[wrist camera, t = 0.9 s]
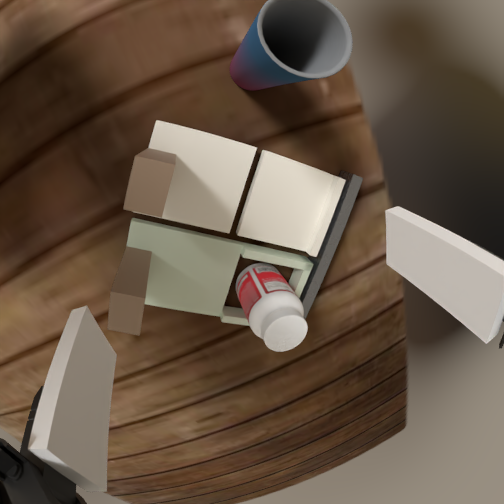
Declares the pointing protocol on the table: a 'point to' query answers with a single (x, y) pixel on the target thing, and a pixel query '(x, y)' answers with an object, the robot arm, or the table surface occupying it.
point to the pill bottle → (271, 307)
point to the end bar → (330, 239)
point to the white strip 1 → (189, 177)
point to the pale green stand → (185, 273)
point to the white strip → (289, 204)
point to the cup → (292, 44)
